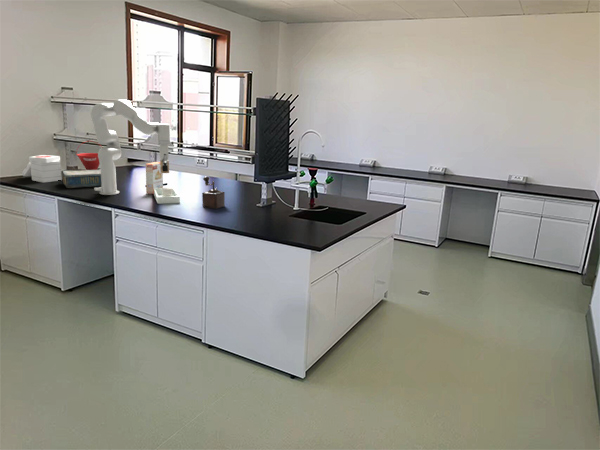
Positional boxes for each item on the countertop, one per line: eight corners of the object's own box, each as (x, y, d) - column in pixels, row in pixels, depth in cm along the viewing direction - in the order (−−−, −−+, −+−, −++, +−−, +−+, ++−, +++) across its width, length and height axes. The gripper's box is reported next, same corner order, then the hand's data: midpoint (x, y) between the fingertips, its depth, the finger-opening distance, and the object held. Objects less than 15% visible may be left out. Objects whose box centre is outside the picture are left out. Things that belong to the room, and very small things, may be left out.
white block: (163, 202, 293) (162, 189, 291) (162, 200, 298) (161, 188, 296) (173, 201, 295) (173, 189, 293) (172, 199, 301) (171, 187, 299)
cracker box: (154, 194, 320) (152, 164, 314) (146, 193, 321) (144, 163, 316) (163, 190, 333) (162, 162, 328) (156, 190, 334) (155, 161, 329)
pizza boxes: (43, 175, 370) (41, 153, 366) (66, 180, 355) (64, 156, 351) (19, 178, 355) (16, 154, 350) (41, 183, 340) (39, 158, 335)
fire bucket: (78, 180, 355) (75, 141, 348) (76, 176, 372) (73, 139, 364) (108, 179, 366) (106, 141, 358) (105, 176, 382) (103, 139, 374)
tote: (157, 205, 289) (157, 197, 288) (153, 195, 315) (153, 188, 314) (179, 204, 294) (179, 196, 293) (174, 195, 320) (174, 188, 319)
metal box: (114, 186, 343) (113, 173, 340) (66, 188, 326) (65, 174, 323) (108, 181, 360) (108, 168, 358) (62, 183, 343) (61, 170, 341)
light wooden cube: (161, 173, 301) (160, 160, 299) (160, 172, 306) (160, 159, 304) (169, 173, 303) (168, 160, 301) (168, 171, 308) (168, 159, 306)
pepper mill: (225, 206, 295) (225, 178, 290) (215, 209, 285) (215, 180, 281) (205, 203, 301) (205, 175, 297) (195, 206, 291) (195, 177, 287)
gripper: (156, 141, 306) (157, 168, 311) (159, 144, 291) (160, 172, 295) (168, 141, 309) (169, 168, 313) (171, 144, 293) (172, 172, 298)
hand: (164, 170), depth 304 cm, fingers closed on light wooden cube, 5 cm apart
